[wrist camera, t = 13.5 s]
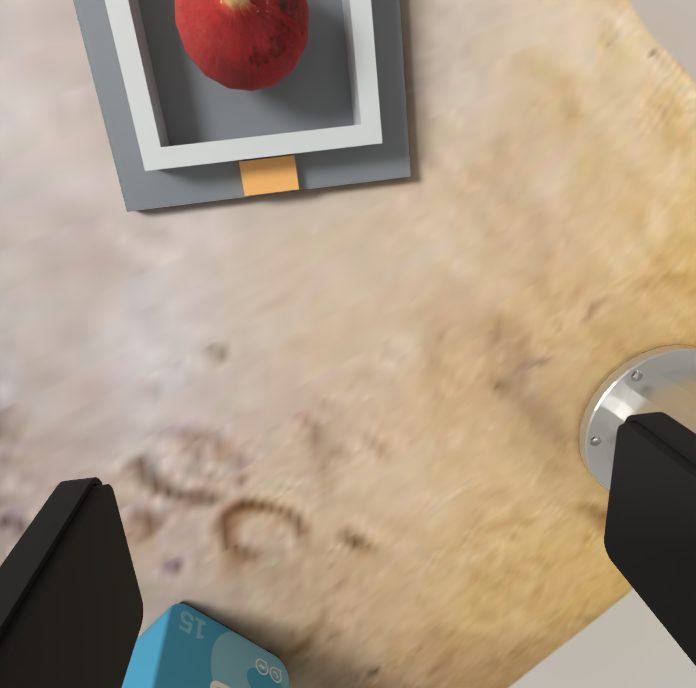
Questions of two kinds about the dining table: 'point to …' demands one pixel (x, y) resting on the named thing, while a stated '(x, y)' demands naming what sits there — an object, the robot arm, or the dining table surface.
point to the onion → (244, 39)
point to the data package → (200, 656)
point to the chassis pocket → (248, 106)
